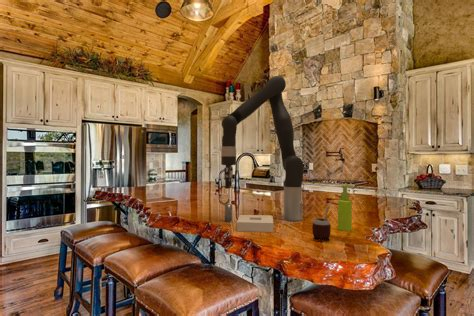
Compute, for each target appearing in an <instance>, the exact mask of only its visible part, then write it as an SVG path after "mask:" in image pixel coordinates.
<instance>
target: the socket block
mask: <svg viewBox="0 0 474 316" xmlns="http://www.w3.org/2000/svg"><path fill="white" fill-rule="evenodd" d="M273 218H274V217H273V215H263V214H262V215H260V214H255V215H254V214H239V216H238V218H237V221H236V232H250V233H251V232H254V233H256V232H257V233H258V232H260V233H274V219H273Z"/></svg>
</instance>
